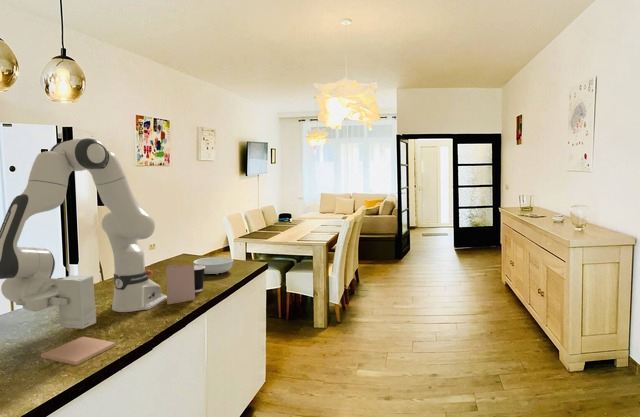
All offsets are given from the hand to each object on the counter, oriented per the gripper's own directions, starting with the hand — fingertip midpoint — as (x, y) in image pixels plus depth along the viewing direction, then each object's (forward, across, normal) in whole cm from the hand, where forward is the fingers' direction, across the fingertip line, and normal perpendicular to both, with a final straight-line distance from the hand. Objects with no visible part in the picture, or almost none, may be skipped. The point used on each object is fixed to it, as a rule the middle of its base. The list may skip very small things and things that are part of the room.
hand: (78, 297), depth 125 cm
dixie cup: (-7, +66, +17) cm, 69 cm away
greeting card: (-4, +50, +17) cm, 53 cm away
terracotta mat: (-1, 0, +17) cm, 17 cm away
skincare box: (-1, 0, +9) cm, 9 cm away
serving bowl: (-19, +97, +17) cm, 100 cm away
